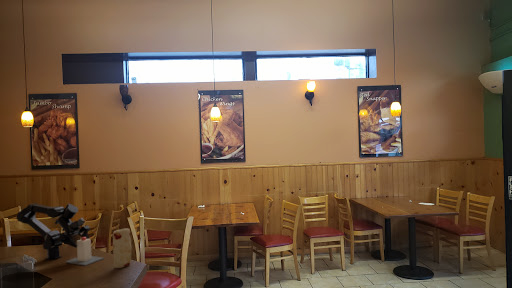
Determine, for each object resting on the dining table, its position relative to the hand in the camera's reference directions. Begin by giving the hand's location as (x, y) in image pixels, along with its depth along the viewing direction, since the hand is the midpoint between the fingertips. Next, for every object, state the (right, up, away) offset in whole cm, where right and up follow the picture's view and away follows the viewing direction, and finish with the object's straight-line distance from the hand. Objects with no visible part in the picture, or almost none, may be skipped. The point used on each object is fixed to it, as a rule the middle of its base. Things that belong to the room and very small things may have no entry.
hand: (83, 244), depth 208 cm
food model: (+27, -8, -13) cm, 31 cm away
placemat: (+1, -9, 0) cm, 9 cm away
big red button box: (+1, -8, 0) cm, 8 cm away
